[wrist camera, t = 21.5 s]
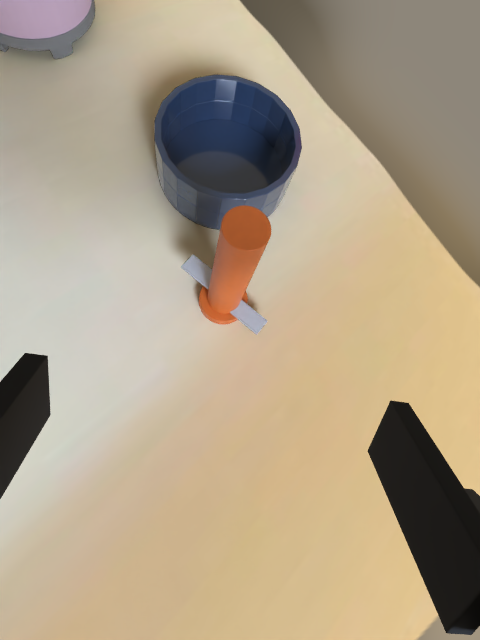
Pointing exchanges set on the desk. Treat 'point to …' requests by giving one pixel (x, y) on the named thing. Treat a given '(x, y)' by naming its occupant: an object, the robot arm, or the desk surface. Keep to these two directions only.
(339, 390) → the desk surface
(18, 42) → the blender
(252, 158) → the bowl
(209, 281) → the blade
